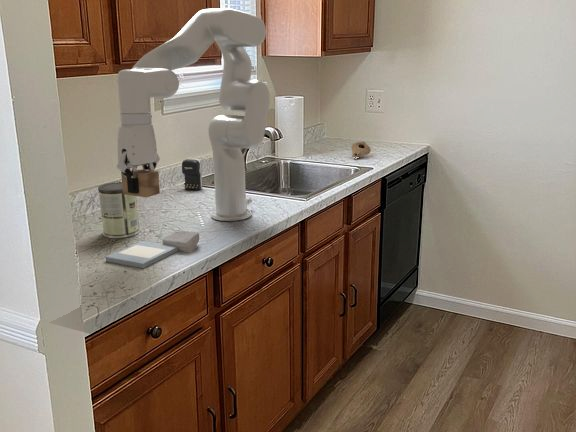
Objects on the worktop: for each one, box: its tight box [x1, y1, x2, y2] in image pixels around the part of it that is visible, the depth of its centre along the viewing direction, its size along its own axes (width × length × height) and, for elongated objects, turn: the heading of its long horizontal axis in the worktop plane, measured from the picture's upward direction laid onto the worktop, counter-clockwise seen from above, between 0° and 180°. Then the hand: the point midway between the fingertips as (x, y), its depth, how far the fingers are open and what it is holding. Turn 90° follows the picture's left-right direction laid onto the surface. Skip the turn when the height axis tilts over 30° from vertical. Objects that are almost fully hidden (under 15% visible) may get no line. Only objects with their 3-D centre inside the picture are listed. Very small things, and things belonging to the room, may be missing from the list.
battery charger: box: [181, 158, 203, 191], centre depth 224 cm, size 7×4×11 cm, turn 67°
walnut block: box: [120, 168, 161, 198], centre depth 155 cm, size 5×8×6 cm, turn 61°
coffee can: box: [97, 181, 140, 239], centre depth 172 cm, size 10×10×14 cm
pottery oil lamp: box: [351, 140, 372, 158], centre depth 281 cm, size 9×12×7 cm
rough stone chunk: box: [161, 229, 200, 253], centre depth 161 cm, size 10×6×6 cm, turn 56°
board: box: [105, 240, 179, 269], centre depth 155 cm, size 14×12×1 cm
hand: (141, 190), depth 155 cm, fingers closed on walnut block, 5 cm apart
